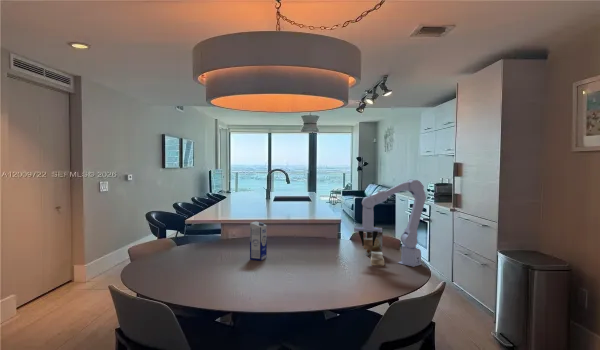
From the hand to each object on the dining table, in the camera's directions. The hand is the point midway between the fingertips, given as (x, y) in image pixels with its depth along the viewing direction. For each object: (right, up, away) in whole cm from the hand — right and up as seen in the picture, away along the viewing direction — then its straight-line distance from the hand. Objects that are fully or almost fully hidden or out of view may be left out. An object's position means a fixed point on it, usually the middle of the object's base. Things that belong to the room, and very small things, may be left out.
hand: (367, 245), depth 191 cm
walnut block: (0, -2, 0) cm, 2 cm away
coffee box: (+7, -9, +19) cm, 22 cm away
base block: (+5, -10, -1) cm, 11 cm away
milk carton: (-58, -9, +7) cm, 59 cm away
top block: (+5, -7, -1) cm, 8 cm away
